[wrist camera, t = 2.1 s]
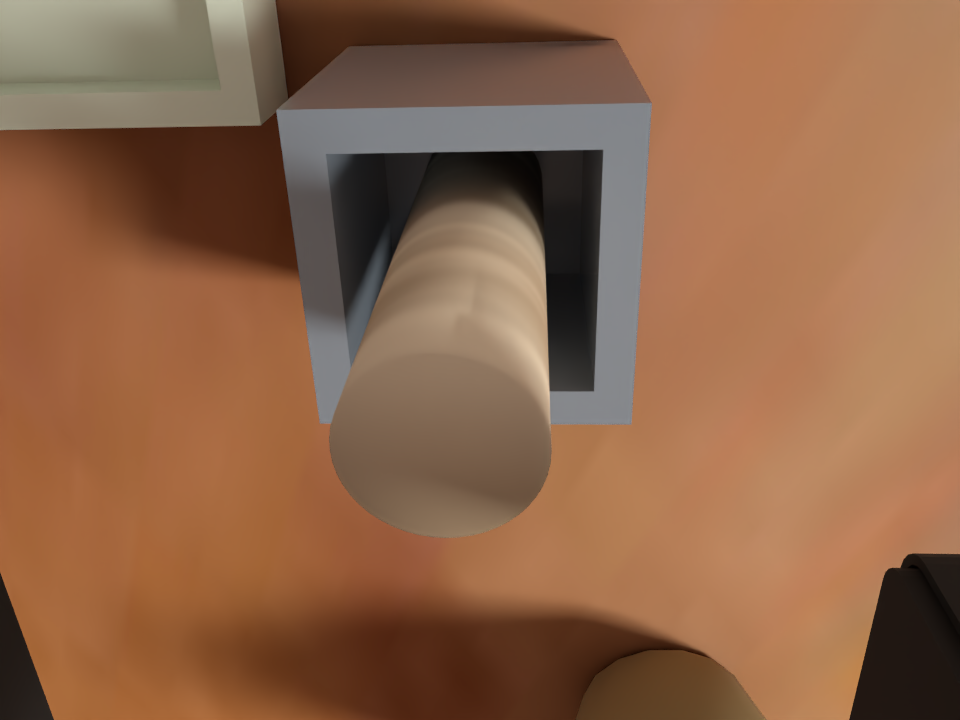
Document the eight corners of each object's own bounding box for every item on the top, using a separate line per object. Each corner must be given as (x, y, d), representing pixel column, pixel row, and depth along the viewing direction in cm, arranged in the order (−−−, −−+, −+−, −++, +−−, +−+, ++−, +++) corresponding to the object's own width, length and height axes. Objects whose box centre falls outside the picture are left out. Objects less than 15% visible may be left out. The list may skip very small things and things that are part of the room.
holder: (349, 46, 22) (276, 109, 15) (617, 39, 21) (651, 102, 15) (372, 289, 25) (320, 423, 19) (606, 288, 24) (630, 424, 18)
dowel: (421, 125, 22) (316, 352, 11) (542, 123, 21) (552, 352, 11) (428, 239, 23) (341, 536, 12) (542, 238, 23) (550, 538, 12)
